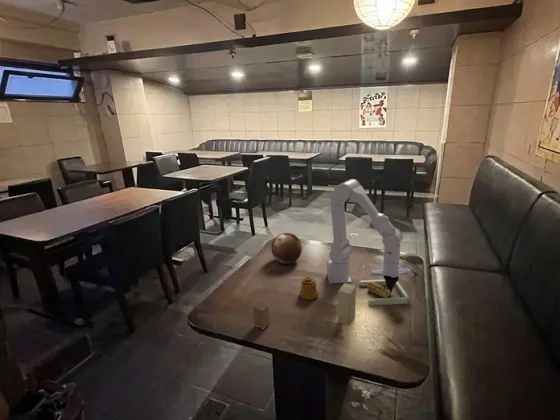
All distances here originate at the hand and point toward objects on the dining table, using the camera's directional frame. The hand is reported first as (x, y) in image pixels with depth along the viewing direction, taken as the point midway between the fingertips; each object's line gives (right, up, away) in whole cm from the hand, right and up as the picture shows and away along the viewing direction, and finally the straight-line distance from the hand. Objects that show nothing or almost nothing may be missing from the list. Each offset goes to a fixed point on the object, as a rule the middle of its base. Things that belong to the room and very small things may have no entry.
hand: (389, 291), depth 121 cm
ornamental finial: (-32, -2, +2) cm, 32 cm away
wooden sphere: (-40, +6, +30) cm, 51 cm away
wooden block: (-50, -8, -14) cm, 52 cm away
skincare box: (-20, -6, -13) cm, 24 cm away
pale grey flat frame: (-2, -1, 0) cm, 3 cm away
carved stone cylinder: (-4, -1, 0) cm, 4 cm away
